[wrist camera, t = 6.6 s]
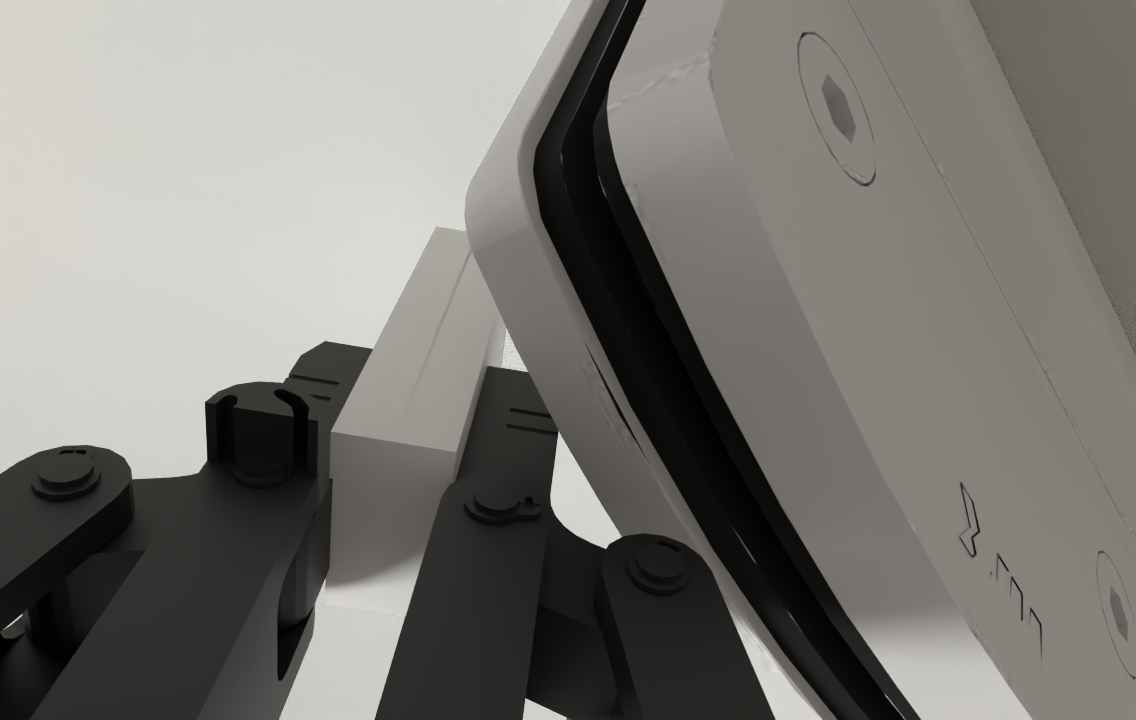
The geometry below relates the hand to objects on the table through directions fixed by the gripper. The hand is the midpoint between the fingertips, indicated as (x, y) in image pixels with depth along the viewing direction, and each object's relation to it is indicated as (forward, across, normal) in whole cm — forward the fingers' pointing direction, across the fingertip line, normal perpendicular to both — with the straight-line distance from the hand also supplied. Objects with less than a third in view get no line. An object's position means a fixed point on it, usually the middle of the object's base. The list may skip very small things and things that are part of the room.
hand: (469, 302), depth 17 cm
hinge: (+2, +8, +1) cm, 8 cm away
